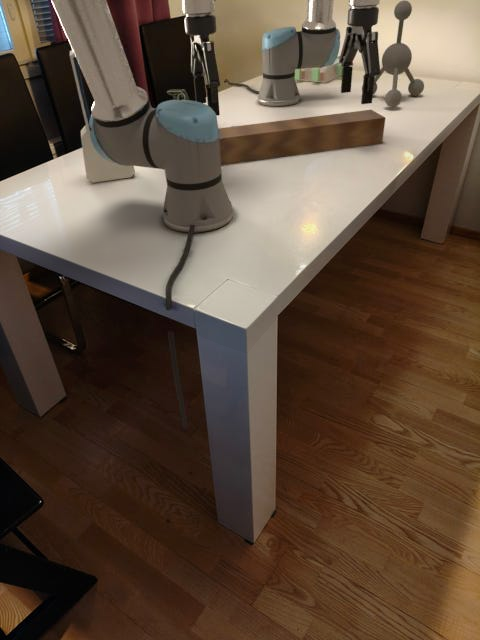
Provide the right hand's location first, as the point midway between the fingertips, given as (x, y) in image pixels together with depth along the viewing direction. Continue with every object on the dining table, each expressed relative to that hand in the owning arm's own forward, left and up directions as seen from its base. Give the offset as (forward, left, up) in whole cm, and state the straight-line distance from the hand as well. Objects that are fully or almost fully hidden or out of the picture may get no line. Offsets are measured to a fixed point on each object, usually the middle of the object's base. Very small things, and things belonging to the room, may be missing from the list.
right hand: (355, 97), depth 135 cm
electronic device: (-6, -69, -12) cm, 70 cm away
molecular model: (-33, +37, -12) cm, 51 cm away
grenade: (-44, -40, -12) cm, 61 cm away
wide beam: (-2, -22, -12) cm, 25 cm away
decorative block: (-79, +30, -12) cm, 86 cm away
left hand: (-6, -41, +1) cm, 41 cm away
